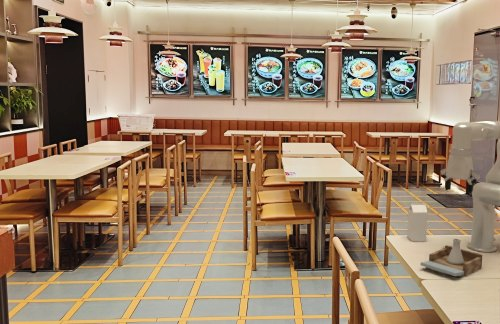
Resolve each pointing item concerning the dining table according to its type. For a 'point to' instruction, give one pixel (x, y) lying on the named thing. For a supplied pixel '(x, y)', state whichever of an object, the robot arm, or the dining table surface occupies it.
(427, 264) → the grey flat panel
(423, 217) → the milk carton
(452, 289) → the dining table surface
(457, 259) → the flask
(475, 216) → the robot arm
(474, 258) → the wooden tray
